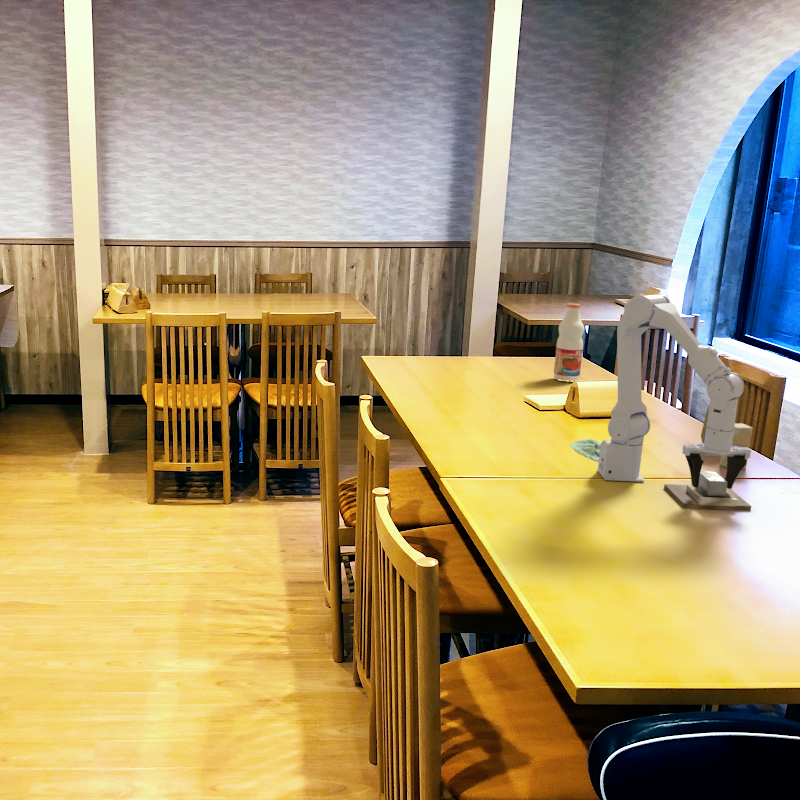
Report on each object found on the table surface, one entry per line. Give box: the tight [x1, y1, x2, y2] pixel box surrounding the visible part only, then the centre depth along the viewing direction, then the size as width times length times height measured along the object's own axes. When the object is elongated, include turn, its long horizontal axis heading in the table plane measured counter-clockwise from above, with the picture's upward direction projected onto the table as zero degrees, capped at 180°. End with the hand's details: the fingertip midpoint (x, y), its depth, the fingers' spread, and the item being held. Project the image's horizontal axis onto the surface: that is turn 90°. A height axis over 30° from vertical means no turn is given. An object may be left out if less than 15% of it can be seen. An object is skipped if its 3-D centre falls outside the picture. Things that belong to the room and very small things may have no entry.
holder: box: [663, 483, 752, 511], centre depth 198 cm, size 15×14×2 cm
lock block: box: [696, 470, 727, 498], centre depth 196 cm, size 4×7×5 cm, turn 2°
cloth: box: [569, 438, 602, 463], centre depth 231 cm, size 20×22×2 cm
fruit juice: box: [553, 302, 585, 381], centre depth 318 cm, size 9×9×28 cm
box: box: [719, 422, 754, 470], centre depth 223 cm, size 5×4×11 cm
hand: (711, 486), depth 196 cm, fingers open, 7 cm apart
